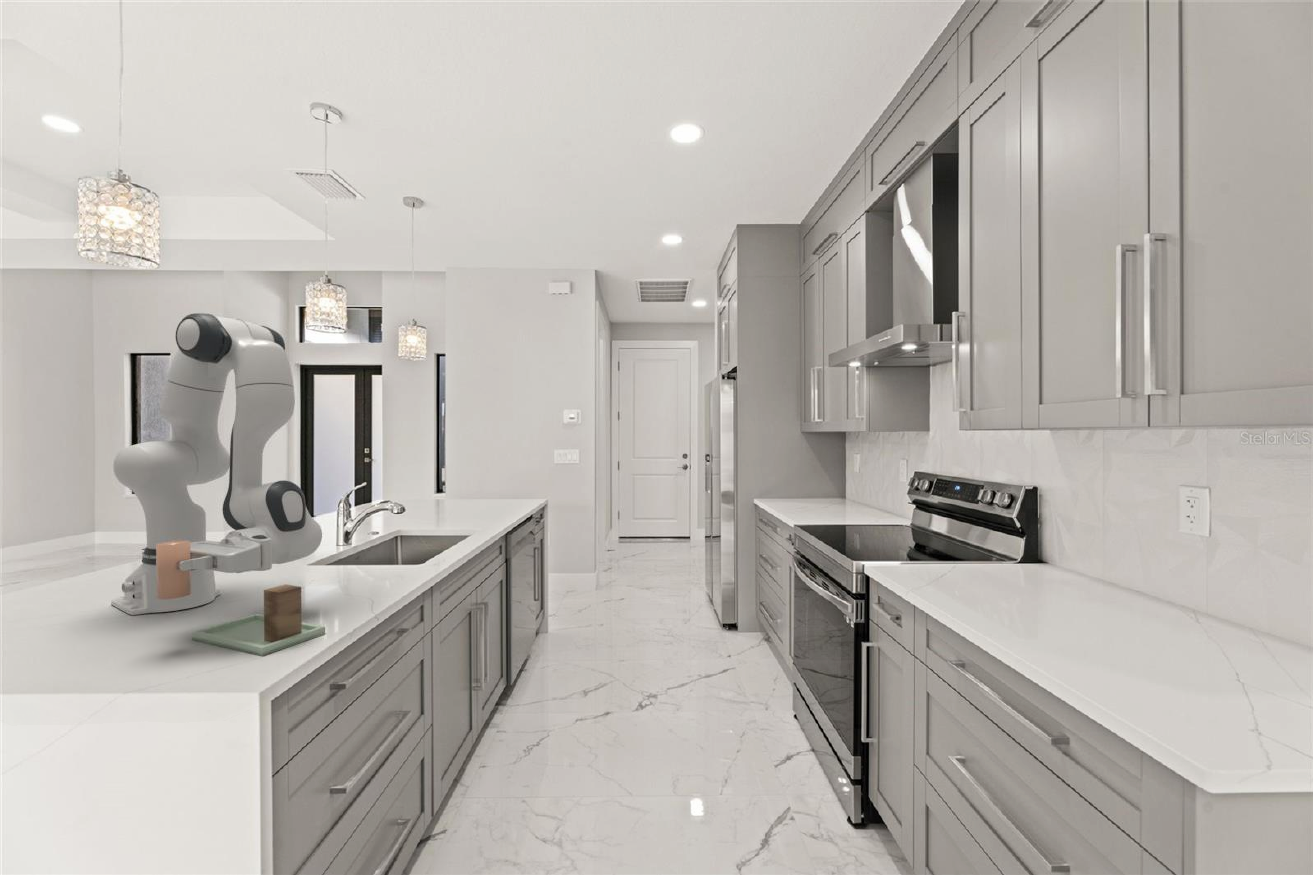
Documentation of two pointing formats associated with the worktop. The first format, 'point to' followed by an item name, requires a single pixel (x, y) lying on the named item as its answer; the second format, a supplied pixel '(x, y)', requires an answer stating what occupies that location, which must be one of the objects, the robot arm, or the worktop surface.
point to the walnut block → (282, 612)
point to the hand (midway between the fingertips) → (168, 564)
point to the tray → (252, 635)
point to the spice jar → (172, 569)
